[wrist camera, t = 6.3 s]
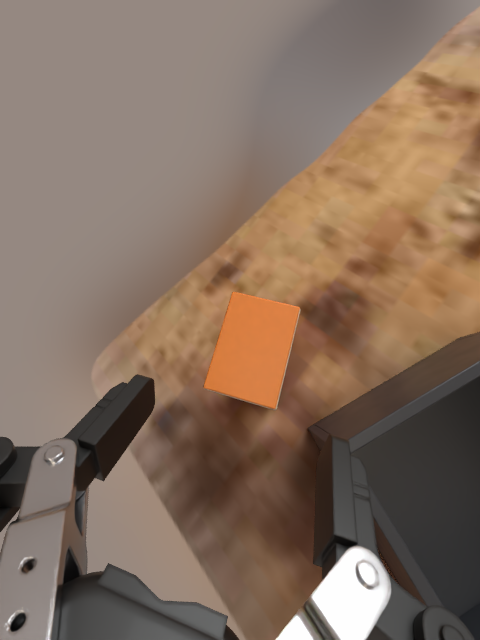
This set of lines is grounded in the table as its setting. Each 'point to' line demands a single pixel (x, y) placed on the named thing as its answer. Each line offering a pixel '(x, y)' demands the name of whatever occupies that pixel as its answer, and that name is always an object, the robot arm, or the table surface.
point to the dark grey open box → (424, 474)
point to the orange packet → (253, 350)
